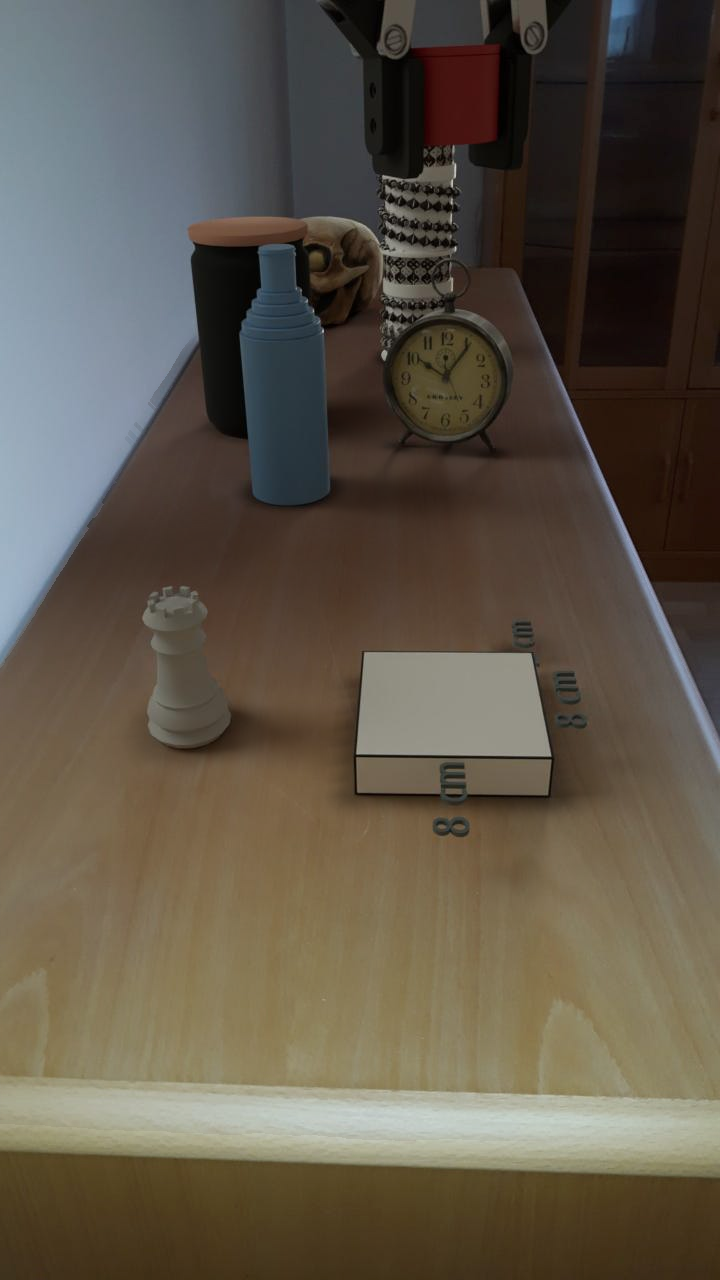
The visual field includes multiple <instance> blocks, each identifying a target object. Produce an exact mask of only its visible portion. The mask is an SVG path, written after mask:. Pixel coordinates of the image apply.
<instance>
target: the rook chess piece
mask: <svg viewBox="0 0 720 1280" xmlns="http://www.w3.org/2000/svg"><path fill="white" fill-rule="evenodd" d="M161 589H162V594H163V596H162V595H161V596H160V593H159V592H157V591H155V590H154V591H152V592H151V594H149V595H148V598H149V600H147V602H146V603H147V607H146V609H145V610H144V612H143V615H142V617H141V619H142V621H143V623H144V625H145V626H146V627H147V628H148V629H150V630H151V631H152V632H153V636H152V639H151V641H150V646H151V647H152V649H153V650H154V651H155V653H156V667H157V668H156V684H155V686H154V687H153V691H152V695H151V696H150V697H149V701H148V703H147V709H146V714H147V716H148V719H149V720H148V723H147V727H148V730H149V733H150V735H151V736H152V737H154V738H155V739H157V740H158V741H159V742H161V743H162V744H164V745H165V746H167V747H170V748H175V749H179V750H181V749H195V748H199V747H203V746H207V745H208V744H210V743H212V742H214V741H216V740H218V739H219V738H220V736H221V735H223V733H224V732H225V731H226V729H227V728H228V727H229V725H230V724H231V718H232V713H231V711H230V709H229V707H228V705H229V700H228V696H227V695H226V693H225V692H224V690H223V688H222V686H219V684H218V682H217V680H216V679H215V677H213V676H212V675H211V671H210V669H209V665H208V661H207V658H206V654H205V647H204V644H205V643H206V639H207V635H206V634H205V632H204V631H203V630H202V629H201V625H202V624H203V623H204V622H205V620H206V619H207V615H208V612H209V611H208V609H207V606H206V605H205V604H204V603H203V602H201V600H200V597H199V593H198V591H197V590H193V591H191V587H190V586H185V585H184V586H183V585H181V586H180V587H179V593H174V591H173V590H174V589H173V586H172V585H170V586H165V587H162V588H161Z"/></svg>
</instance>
